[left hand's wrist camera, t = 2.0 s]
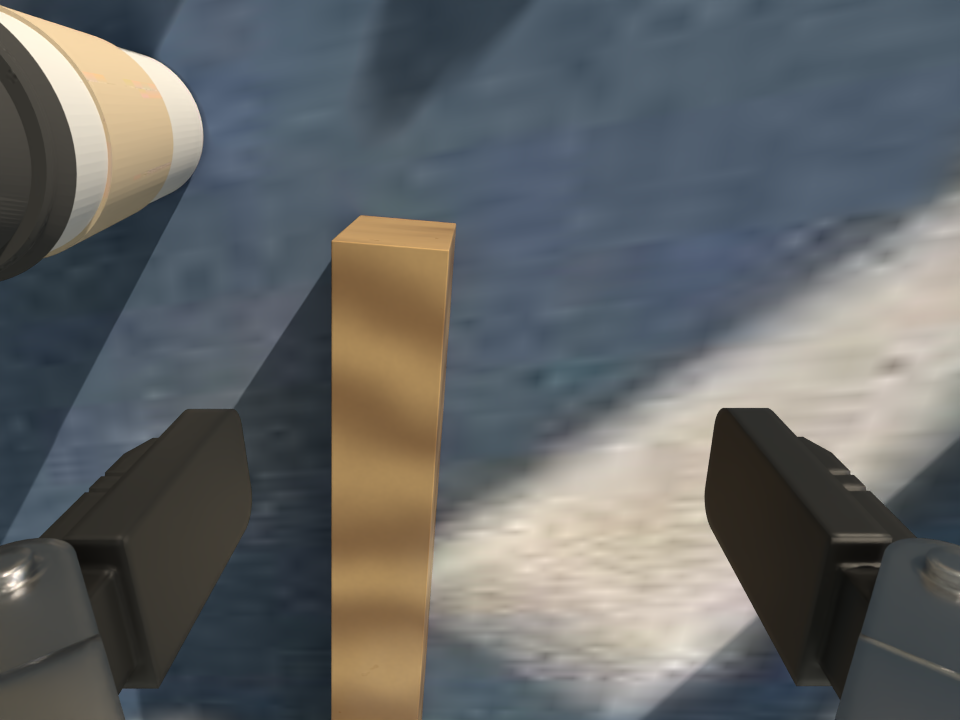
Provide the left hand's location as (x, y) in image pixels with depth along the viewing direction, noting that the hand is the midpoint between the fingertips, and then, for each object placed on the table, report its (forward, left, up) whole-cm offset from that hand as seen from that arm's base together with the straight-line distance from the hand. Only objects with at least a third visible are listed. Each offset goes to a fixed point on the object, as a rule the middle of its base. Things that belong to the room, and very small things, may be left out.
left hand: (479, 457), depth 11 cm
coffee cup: (+13, +12, -24) cm, 30 cm away
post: (-19, +19, -24) cm, 36 cm away
